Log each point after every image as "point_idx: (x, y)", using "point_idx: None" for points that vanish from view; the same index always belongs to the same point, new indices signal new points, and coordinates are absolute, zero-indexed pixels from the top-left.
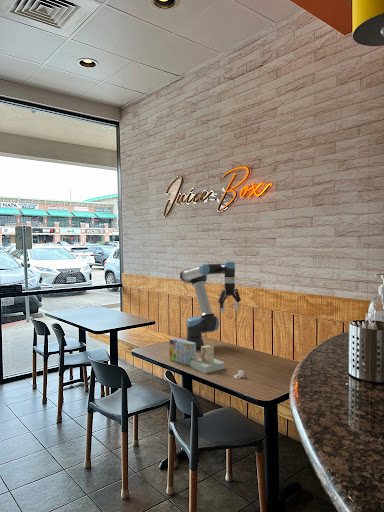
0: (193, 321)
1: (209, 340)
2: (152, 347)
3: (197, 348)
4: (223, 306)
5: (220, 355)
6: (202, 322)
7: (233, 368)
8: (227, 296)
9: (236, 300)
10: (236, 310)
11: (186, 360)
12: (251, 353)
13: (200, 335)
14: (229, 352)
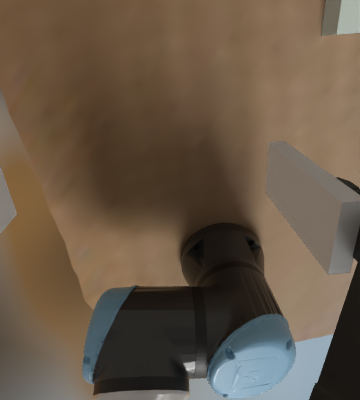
0: (286, 338)
1: None
2: None
3: (235, 226)
4: (332, 177)
5: (202, 101)
6: (218, 327)
7: None
8: (317, 386)
9: None
10: (5, 184)
11: None
12: (34, 35)
13: (222, 270)
14: (134, 119)
